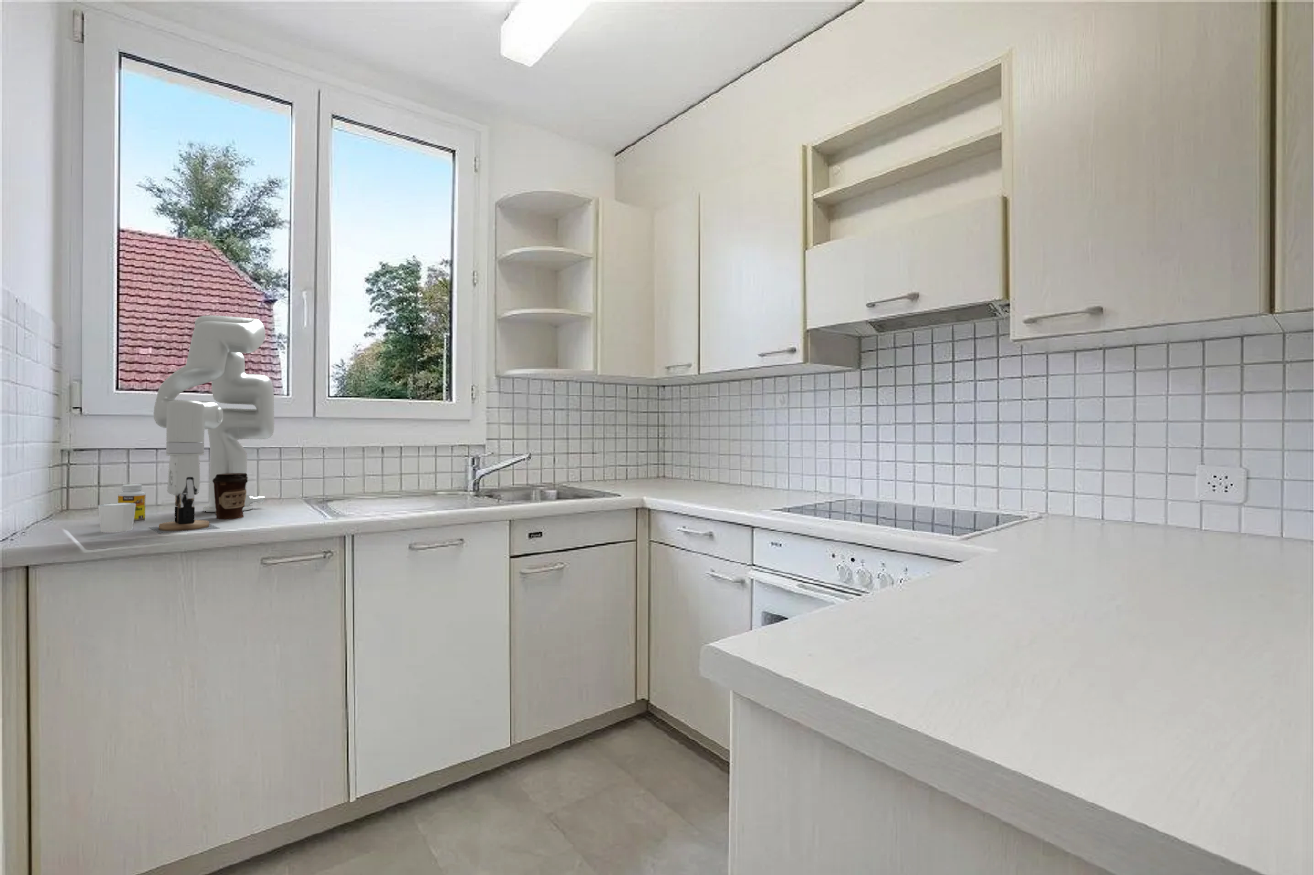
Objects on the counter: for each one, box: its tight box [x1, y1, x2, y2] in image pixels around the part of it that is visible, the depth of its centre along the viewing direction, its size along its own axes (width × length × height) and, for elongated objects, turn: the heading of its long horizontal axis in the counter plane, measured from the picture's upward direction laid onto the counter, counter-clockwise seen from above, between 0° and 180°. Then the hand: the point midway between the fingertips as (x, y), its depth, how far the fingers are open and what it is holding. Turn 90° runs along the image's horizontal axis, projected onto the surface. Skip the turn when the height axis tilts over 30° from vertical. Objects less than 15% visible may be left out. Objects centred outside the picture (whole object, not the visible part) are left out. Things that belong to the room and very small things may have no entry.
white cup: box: [97, 502, 136, 534], centre depth 148 cm, size 7×7×7 cm
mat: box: [148, 523, 219, 535], centre depth 153 cm, size 12×12×1 cm
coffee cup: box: [213, 473, 249, 520], centre depth 172 cm, size 9×8×13 cm
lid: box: [158, 504, 210, 532], centre depth 153 cm, size 10×10×6 cm
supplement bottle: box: [117, 483, 147, 523], centre depth 163 cm, size 6×6×10 cm
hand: (184, 522), depth 153 cm, fingers closed on lid, 2 cm apart
